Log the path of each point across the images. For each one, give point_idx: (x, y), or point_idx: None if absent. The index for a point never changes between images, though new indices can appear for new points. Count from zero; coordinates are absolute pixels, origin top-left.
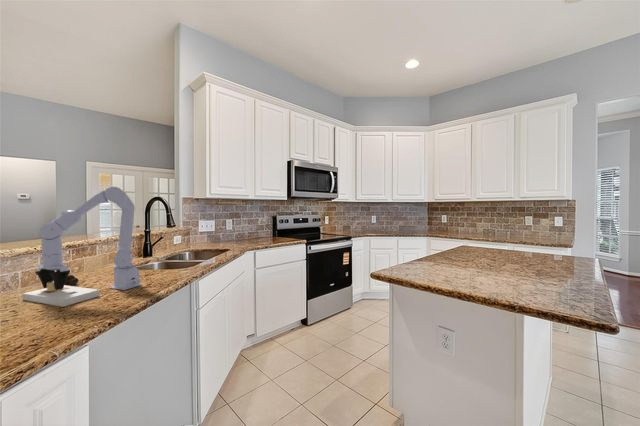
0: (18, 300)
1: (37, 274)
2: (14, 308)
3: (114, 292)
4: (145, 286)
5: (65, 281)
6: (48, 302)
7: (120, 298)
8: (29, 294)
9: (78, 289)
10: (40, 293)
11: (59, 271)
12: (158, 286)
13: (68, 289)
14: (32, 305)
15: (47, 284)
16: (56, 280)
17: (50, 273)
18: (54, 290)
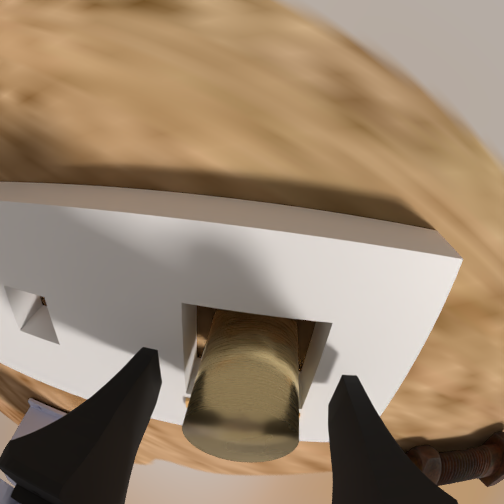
0: (458, 216)
1: (429, 492)
2: (228, 34)
3: (28, 379)
4: None
5: (419, 463)
6: (60, 188)
7: None
8: (353, 243)
9: (88, 379)
10: (265, 287)
11: (23, 492)
12: (5, 412)
13: None
14: (158, 129)
15: (242, 393)
16: (78, 411)
17: (45, 481)
18: (203, 354)
